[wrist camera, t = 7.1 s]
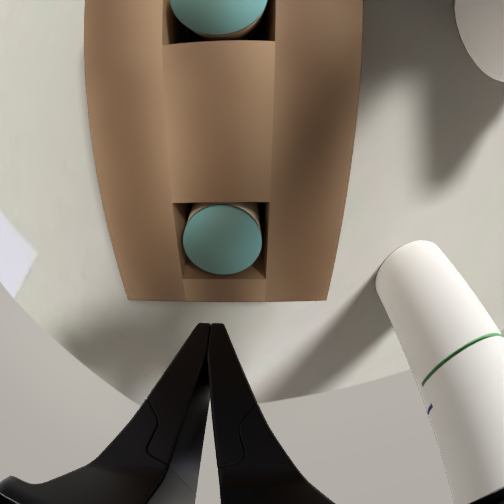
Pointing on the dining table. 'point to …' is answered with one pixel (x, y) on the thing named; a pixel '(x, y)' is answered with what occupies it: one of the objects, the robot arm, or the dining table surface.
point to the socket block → (223, 142)
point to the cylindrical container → (450, 363)
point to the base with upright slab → (483, 33)
